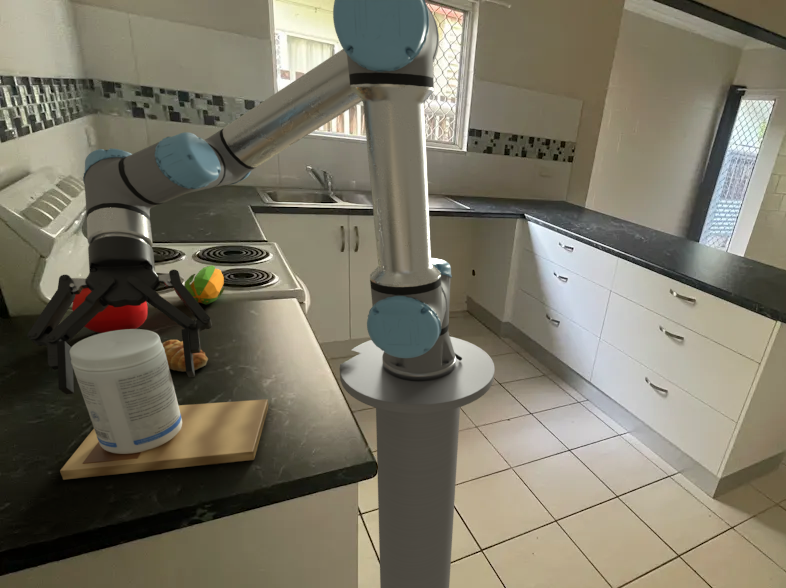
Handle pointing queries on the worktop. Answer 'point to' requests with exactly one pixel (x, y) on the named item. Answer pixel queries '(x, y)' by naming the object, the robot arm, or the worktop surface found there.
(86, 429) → the worktop surface
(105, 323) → the tomato
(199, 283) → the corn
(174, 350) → the pastry
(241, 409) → the cutting board
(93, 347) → the supplement tub
